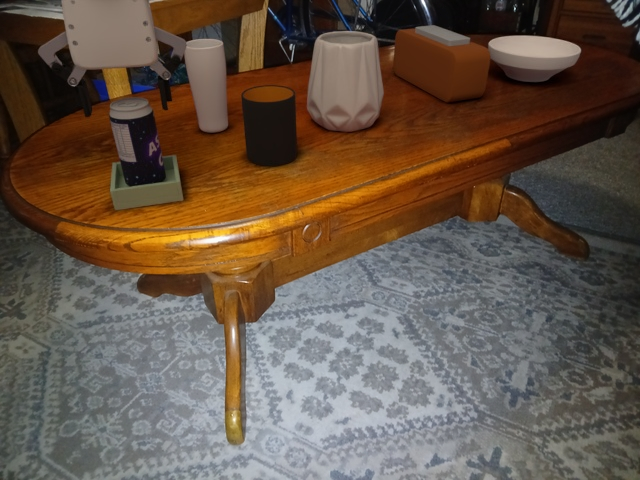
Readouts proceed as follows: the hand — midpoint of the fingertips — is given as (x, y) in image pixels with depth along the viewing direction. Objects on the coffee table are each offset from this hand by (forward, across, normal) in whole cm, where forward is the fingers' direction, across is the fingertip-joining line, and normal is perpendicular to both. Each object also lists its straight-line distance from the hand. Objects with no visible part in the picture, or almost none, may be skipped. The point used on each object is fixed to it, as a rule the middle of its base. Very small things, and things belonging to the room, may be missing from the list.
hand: (127, 110), depth 68 cm
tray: (+12, -1, 0) cm, 12 cm away
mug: (+12, -20, -8) cm, 24 cm away
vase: (+12, -37, -17) cm, 42 cm away
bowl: (+11, -86, -30) cm, 91 cm away
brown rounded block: (+11, -63, -31) cm, 71 cm away
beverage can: (+11, -1, 0) cm, 11 cm away
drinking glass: (+12, -13, -21) cm, 27 cm away
